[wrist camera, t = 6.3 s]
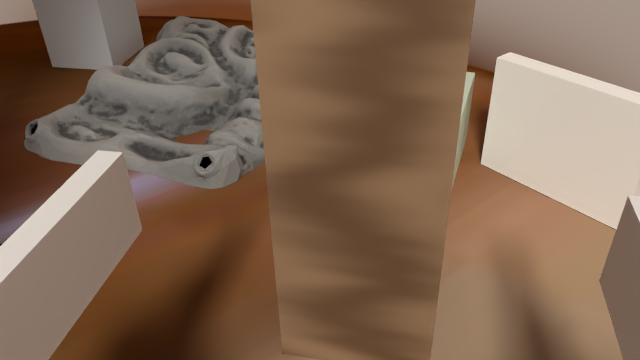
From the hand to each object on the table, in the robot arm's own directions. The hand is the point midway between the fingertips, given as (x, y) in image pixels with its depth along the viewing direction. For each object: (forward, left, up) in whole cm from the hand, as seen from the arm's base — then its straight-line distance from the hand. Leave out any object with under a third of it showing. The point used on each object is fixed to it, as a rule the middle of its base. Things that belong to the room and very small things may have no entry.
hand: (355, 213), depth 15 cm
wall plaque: (-26, +17, -11) cm, 33 cm away
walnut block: (-3, +5, -10) cm, 12 cm away
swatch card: (+1, +19, -10) cm, 22 cm away
